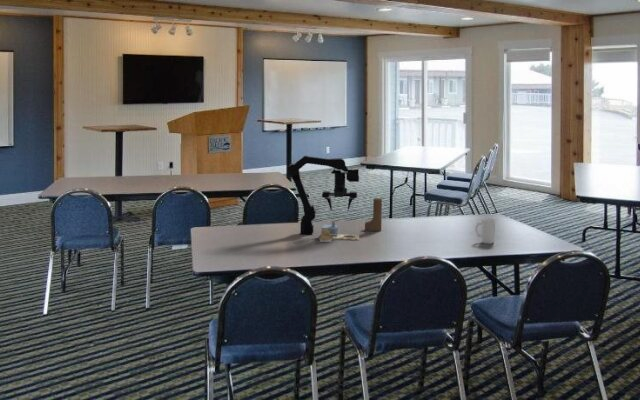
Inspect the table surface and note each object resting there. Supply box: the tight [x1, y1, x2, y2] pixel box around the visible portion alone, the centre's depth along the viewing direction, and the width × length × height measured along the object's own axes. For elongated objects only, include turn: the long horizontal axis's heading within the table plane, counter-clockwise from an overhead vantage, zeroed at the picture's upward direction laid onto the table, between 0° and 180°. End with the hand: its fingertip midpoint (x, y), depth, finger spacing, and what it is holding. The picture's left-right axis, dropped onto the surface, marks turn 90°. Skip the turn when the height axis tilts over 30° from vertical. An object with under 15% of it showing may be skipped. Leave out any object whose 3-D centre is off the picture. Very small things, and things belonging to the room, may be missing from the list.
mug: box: [474, 218, 496, 245], centre depth 374 cm, size 10×7×12 cm, turn 86°
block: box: [321, 228, 330, 240], centre depth 377 cm, size 4×4×5 cm
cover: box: [320, 220, 339, 237], centre depth 385 cm, size 8×8×8 cm
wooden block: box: [364, 197, 383, 232], centre depth 405 cm, size 9×4×18 cm, turn 82°
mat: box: [319, 238, 333, 243], centre depth 377 cm, size 6×5×1 cm
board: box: [318, 233, 360, 241], centre depth 385 cm, size 21×10×1 cm, turn 85°
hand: (339, 210), depth 393 cm, fingers open, 9 cm apart
